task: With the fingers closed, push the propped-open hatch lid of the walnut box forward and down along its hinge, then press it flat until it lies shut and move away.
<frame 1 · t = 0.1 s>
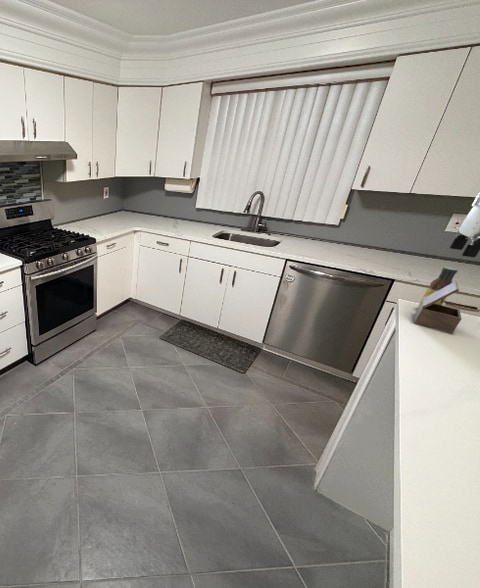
hand: (461, 252, 109), 30 cm above the countertop, tool pointing down, fingers open, 9 cm apart
hatch: (439, 294, 119), point 12 cm above the countertop, hinge at 60.0°
sauce bottle: (425, 312, 132), on the countertop
walnut box: (432, 323, 123), on the countertop
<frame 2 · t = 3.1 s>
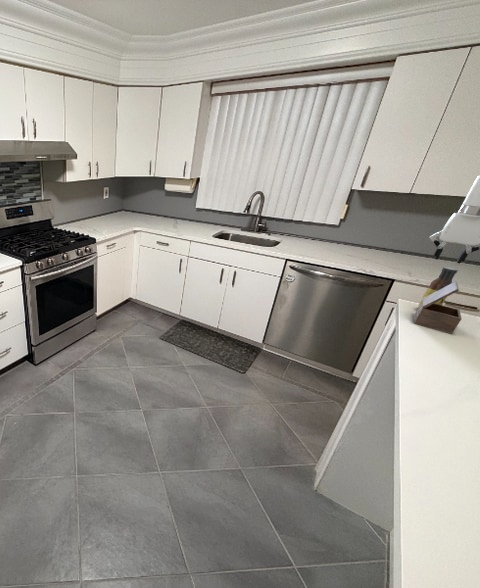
hand: (447, 260, 115), 25 cm above the countertop, tool pointing down, fingers open, 5 cm apart
nothing on the countertop moved.
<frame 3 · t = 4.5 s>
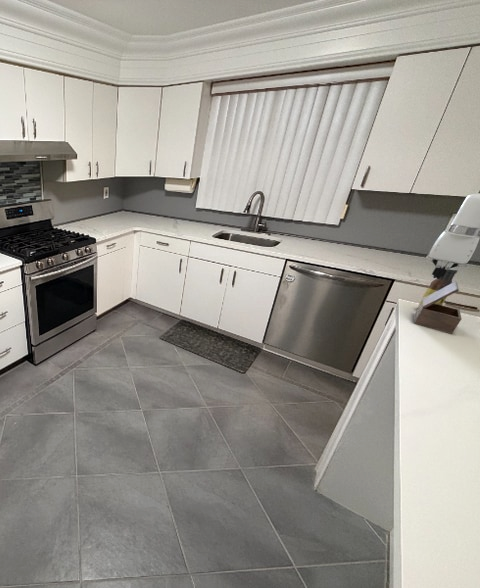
hand: (436, 277, 118), 18 cm above the countertop, tool pointing down, fingers closed
nothing on the countertop moved.
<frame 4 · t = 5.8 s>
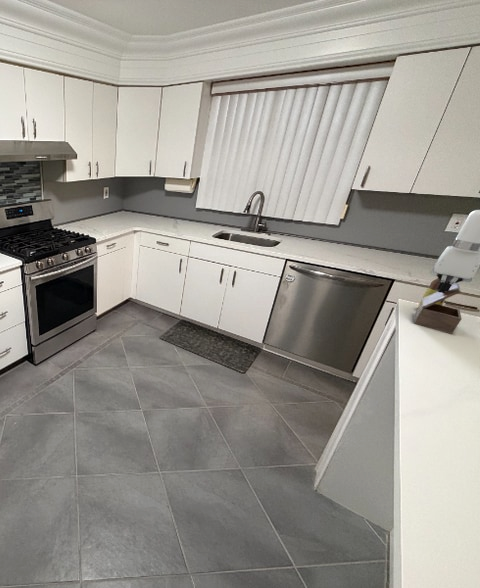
hand: (441, 291, 118), 13 cm above the countertop, tool pointing down, fingers closed
hatch: (440, 295, 119), point 12 cm above the countertop, hinge at 56.3°
everything else where it was.
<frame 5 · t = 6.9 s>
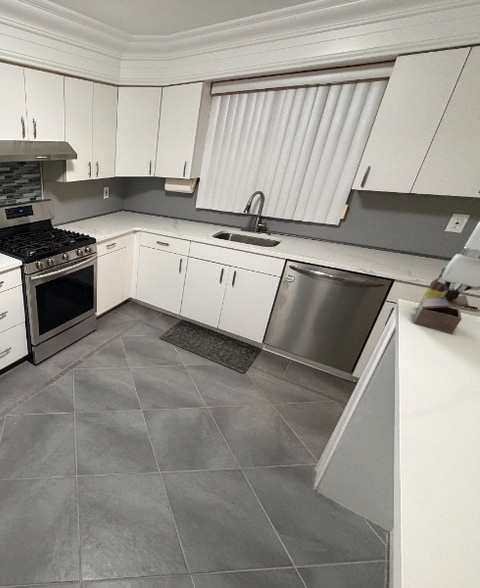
hand: (448, 299, 117), 11 cm above the countertop, tool pointing down, fingers closed
hatch: (444, 302, 118), point 10 cm above the countertop, hinge at 27.7°, touching gripper
everything else where it was.
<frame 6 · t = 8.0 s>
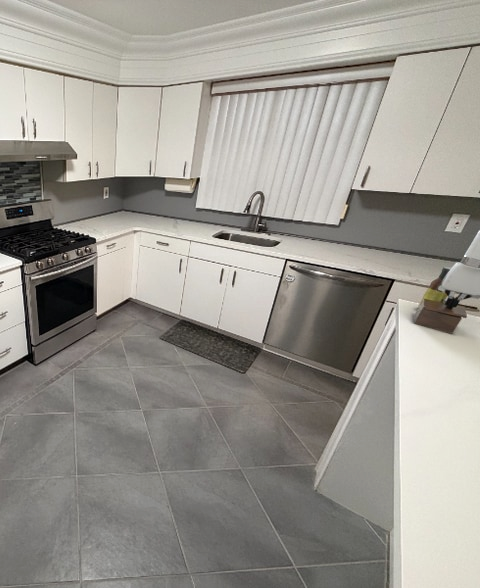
hand: (448, 307, 118), 8 cm above the countertop, tool pointing down, fingers closed
hatch: (443, 307, 119), point 7 cm above the countertop, hinge at 3.1°, touching gripper
everything else where it was.
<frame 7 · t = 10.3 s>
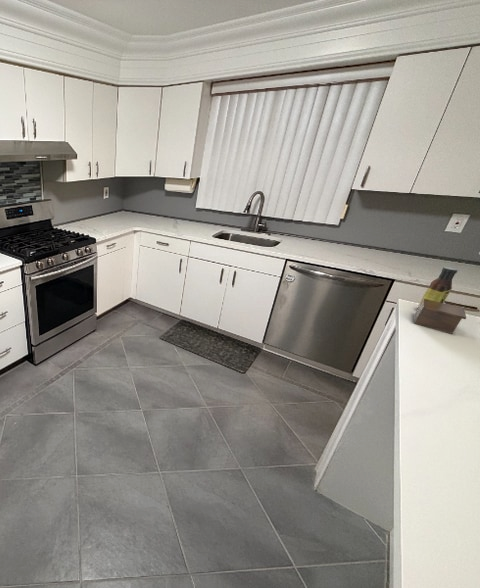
hatch: (443, 308, 119), point 7 cm above the countertop, hinge at 0.4°
everything else where it was.
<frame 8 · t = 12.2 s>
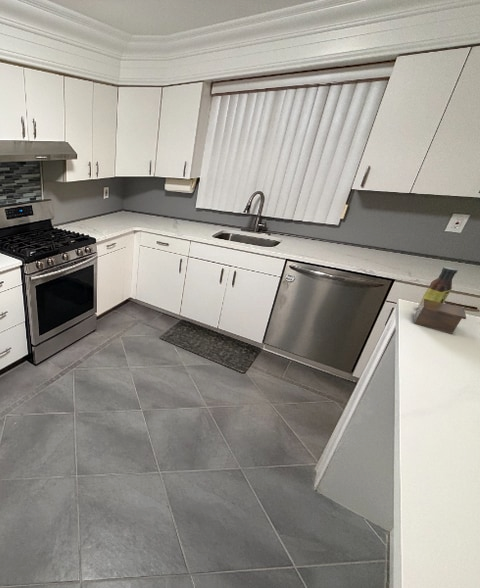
nothing on the countertop moved.
at the end: hatch at +0° (first picture: +60°); the gripper is holding nothing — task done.
